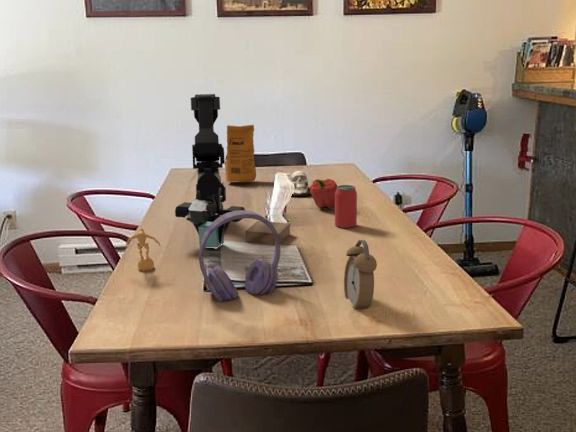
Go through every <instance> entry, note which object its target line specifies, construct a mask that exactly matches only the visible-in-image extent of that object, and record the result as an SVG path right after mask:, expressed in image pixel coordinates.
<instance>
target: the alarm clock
mask: <svg viewBox="0 0 576 432" xmlns="http://www.w3.org/2000/svg"><path fill="white" fill-rule="evenodd" d="M361 245H362V246H361ZM345 254H346V256H347V257H348V259H347V260H346V263H345V267H344V273H343V275H344V277H343V292H344V297H345V299H346V300H349V302H350V303H351V304H352V305H353V306H352V308H353V310H354V309H368V308H370V306H371V304H372V303H373V302H372V301H373V298H374V291H375V275H374V272H375V271H376V270H377V266H378V263H377V262H378V261H377V260H376V258H375V257H374V256H373V255H371V254H370V249H369V244H368V242H367V241H366V240H365V239H358V240H357V242H356V243H355V245H354V246H352V247H350V248H349V249H347V251H346V253H345Z"/></svg>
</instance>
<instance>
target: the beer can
mask: <svg viewBox="0 0 576 432" xmlns="http://www.w3.org/2000/svg"><path fill="white" fill-rule="evenodd" d="M337 186H338V187H337V190H336V192H335V206H334V225H335V226H336V227H338V228H341V229H351V228H354V227H356V225H357V217H358V216H357V215H358V209H357V208H358V205H357V204H358V194H357V190H356V186H354V185H349V184H341V185H337Z"/></svg>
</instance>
